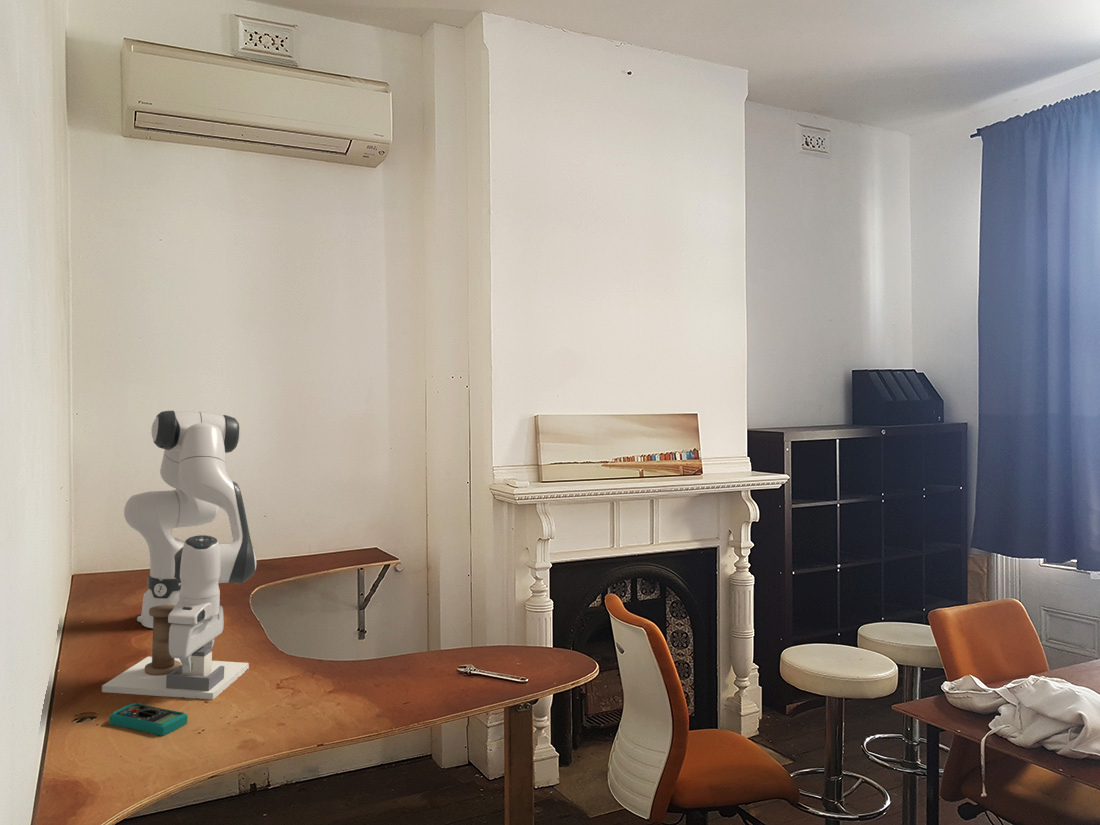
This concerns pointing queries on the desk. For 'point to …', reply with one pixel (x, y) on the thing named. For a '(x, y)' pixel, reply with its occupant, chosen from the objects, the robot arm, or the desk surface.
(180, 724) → the digital multimeter
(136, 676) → the board
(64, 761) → the desk surface
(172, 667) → the bobbin
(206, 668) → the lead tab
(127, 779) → the desk surface
